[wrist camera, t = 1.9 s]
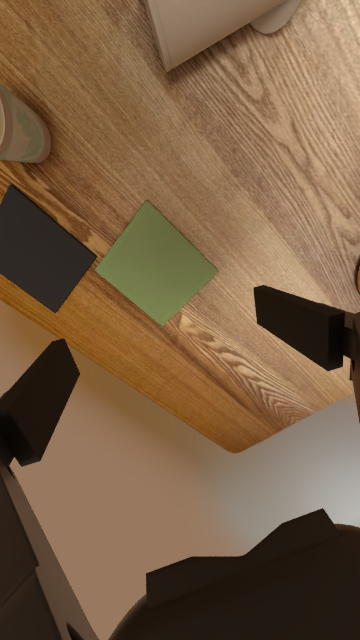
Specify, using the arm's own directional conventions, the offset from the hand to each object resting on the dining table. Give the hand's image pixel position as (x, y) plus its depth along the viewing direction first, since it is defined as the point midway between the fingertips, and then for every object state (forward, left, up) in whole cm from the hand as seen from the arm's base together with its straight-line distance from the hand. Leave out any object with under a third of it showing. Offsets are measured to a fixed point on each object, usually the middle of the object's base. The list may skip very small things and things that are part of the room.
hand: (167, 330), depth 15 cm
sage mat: (-2, -4, -23) cm, 24 cm away
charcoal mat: (-18, -16, -23) cm, 34 cm away
